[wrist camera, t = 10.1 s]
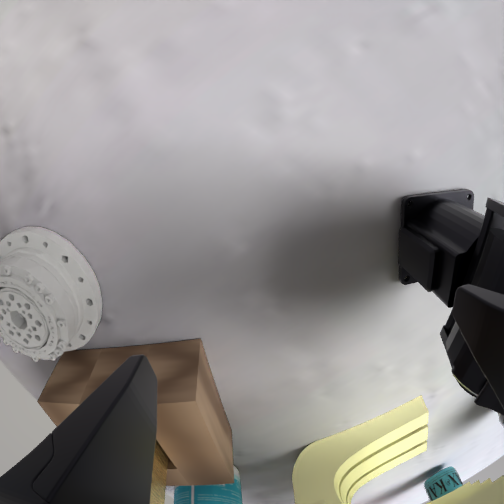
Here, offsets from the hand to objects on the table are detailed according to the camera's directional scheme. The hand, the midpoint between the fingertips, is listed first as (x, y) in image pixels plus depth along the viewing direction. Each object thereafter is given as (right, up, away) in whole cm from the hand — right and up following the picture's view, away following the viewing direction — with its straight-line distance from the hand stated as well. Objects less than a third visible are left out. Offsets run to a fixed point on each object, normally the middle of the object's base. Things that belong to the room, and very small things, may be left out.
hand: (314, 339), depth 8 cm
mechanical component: (-17, 0, +12) cm, 21 cm away
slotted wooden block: (-10, -10, +17) cm, 22 cm away
